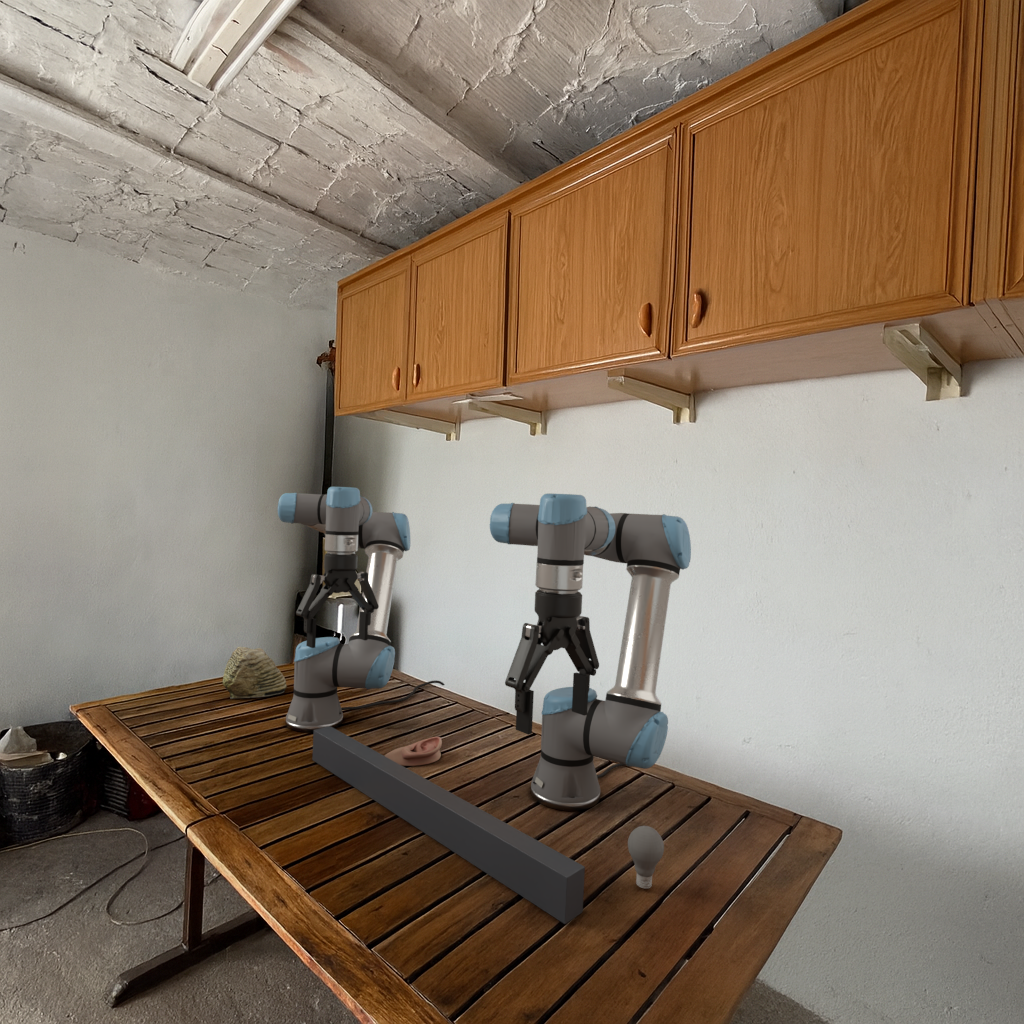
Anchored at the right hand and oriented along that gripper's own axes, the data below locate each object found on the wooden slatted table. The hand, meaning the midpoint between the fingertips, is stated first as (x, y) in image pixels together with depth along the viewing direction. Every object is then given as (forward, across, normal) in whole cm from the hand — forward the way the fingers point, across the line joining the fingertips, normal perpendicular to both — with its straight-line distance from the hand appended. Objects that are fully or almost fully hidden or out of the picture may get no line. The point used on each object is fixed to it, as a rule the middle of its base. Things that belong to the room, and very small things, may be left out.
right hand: (552, 722), depth 102 cm
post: (+29, 0, +34) cm, 44 cm away
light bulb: (+29, +15, -9) cm, 34 cm away
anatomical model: (+29, +17, +59) cm, 68 cm away
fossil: (+29, +8, +129) cm, 132 cm away
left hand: (0, 0, +67) cm, 67 cm away
